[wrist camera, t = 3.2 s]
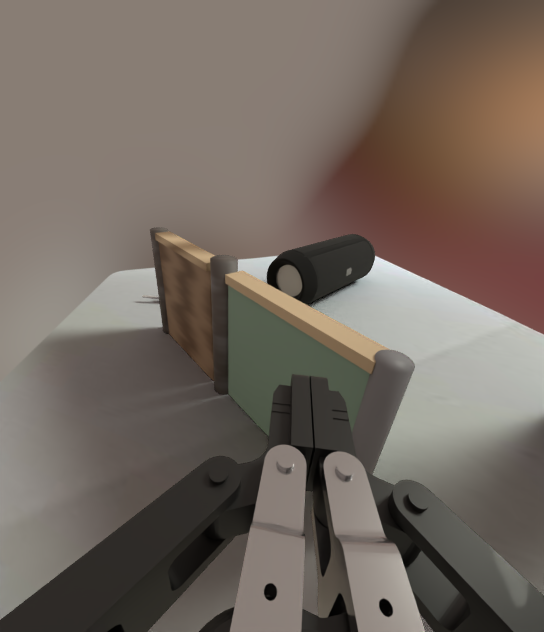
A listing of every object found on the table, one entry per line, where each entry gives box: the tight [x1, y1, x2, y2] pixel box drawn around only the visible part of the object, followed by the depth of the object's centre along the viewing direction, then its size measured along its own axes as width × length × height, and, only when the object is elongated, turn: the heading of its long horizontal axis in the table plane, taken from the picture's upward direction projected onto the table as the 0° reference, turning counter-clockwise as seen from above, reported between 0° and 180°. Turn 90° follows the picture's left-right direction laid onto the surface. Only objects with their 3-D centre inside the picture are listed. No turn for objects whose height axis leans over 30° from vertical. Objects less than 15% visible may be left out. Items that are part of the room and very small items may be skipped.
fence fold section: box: [225, 271, 415, 475], centre depth 23 cm, size 16×2×14 cm, turn 40°
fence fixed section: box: [150, 228, 238, 394], centre depth 34 cm, size 17×2×15 cm, turn 40°
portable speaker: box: [267, 234, 375, 305], centre depth 57 cm, size 26×10×10 cm, turn 138°
